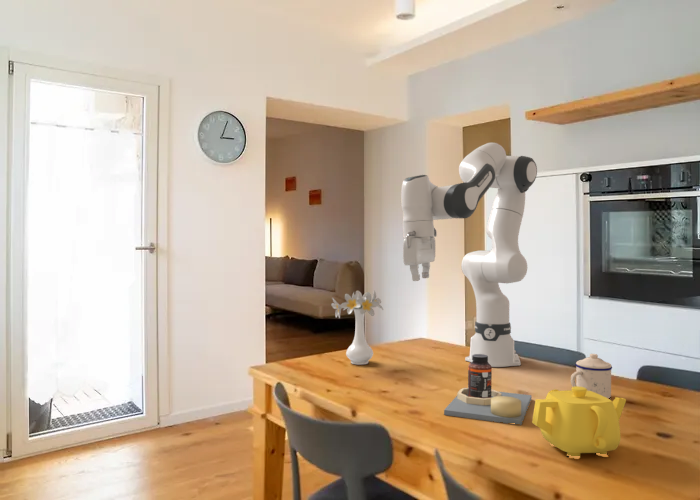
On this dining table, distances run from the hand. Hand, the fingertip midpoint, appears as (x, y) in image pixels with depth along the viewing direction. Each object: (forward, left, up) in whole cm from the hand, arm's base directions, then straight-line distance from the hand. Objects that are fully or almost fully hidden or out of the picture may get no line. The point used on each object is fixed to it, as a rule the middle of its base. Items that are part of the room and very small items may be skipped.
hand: (421, 279), depth 156 cm
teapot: (+30, +42, -32) cm, 61 cm away
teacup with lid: (-10, +44, -31) cm, 55 cm away
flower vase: (-21, -29, -31) cm, 47 cm away
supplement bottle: (+8, +18, -30) cm, 36 cm away
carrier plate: (+10, +21, -31) cm, 39 cm away
